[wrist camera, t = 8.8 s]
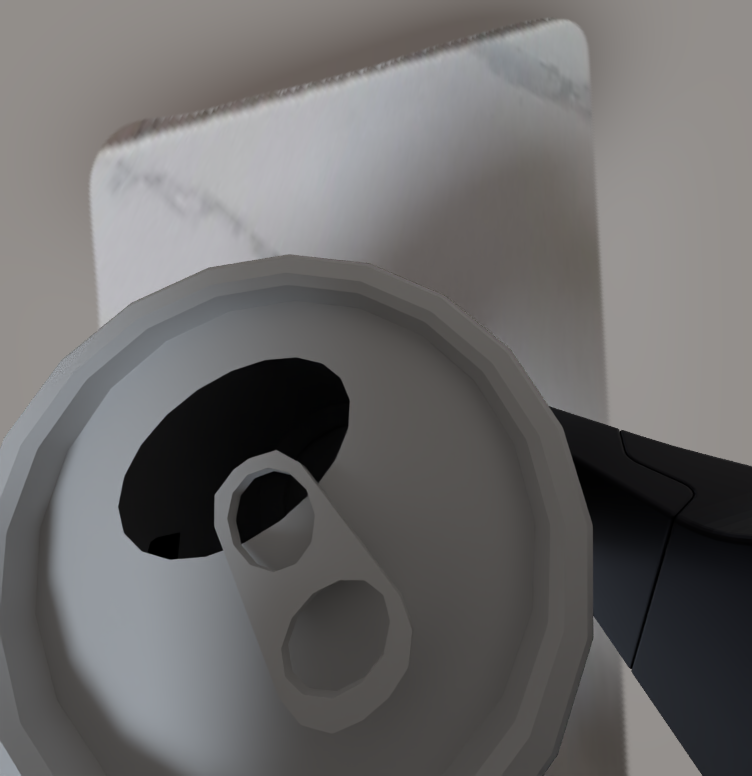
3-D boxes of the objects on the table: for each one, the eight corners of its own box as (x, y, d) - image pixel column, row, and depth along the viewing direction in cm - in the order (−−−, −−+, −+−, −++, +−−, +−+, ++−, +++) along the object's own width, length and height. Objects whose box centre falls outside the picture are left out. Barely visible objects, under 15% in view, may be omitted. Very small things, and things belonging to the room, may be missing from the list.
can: (376, 372, 16) (355, 94, 5) (489, 517, 15) (881, 630, 3) (230, 478, 15) (-250, 450, 4) (335, 645, 14) (63, 1527, 2)
